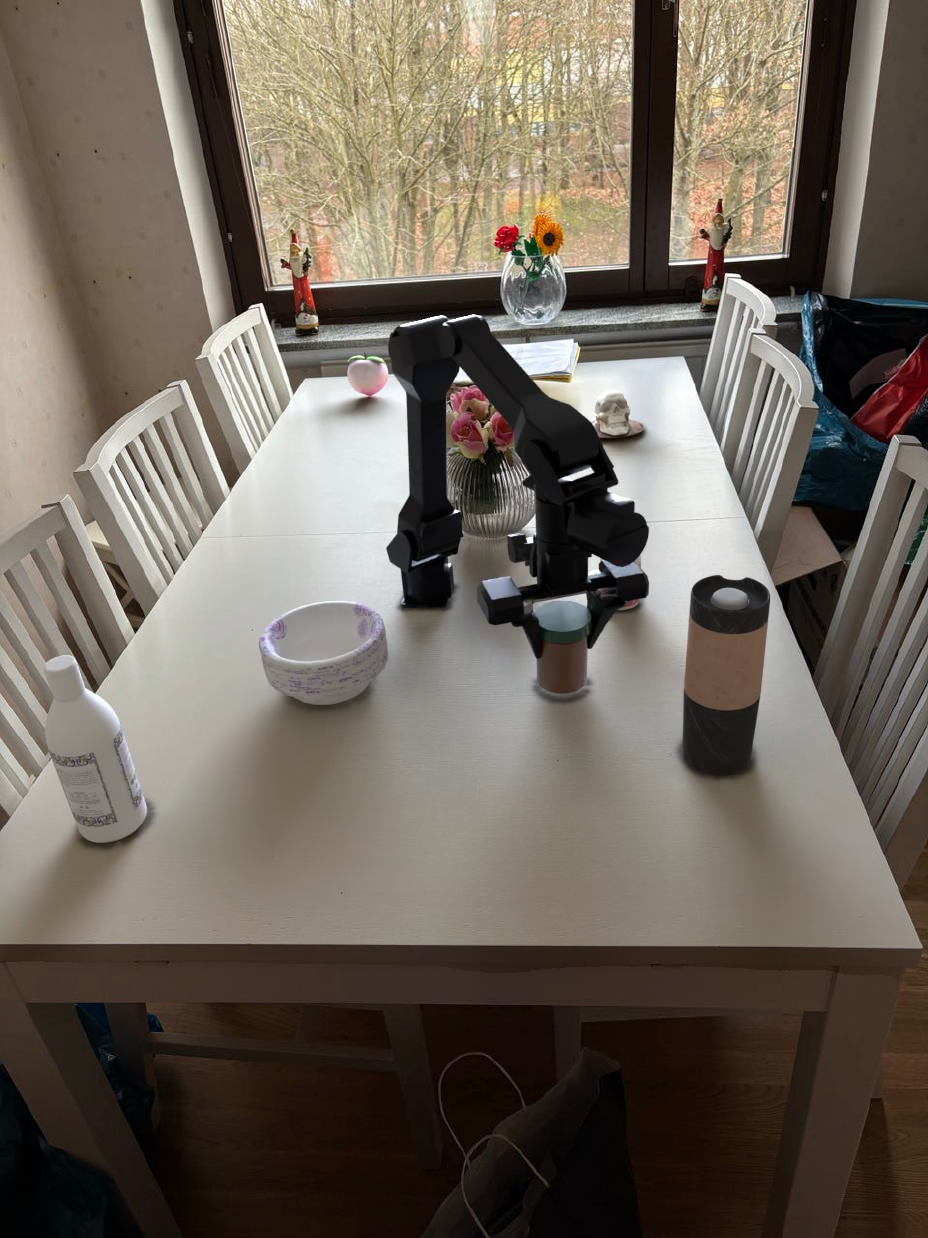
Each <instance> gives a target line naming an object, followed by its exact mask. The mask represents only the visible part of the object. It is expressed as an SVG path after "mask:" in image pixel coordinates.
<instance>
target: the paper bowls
mask: <svg viewBox="0 0 928 1238" xmlns="http://www.w3.org/2000/svg"><path fill="white" fill-rule="evenodd" d="M387 639H388V638H387V630H386V626H385V623H384V620H383V618H382V616H381V615H380V614H379V612H378V611H376V610H375V609H373V608H372V607H370V606H368V605H366V604H363V603H359V602H355V601H350V600H349V601H347V600H325V601H319V602H312V603H309V604H305V605H302V606H298V607H296V608H293V609H292V610H289V611H286V612H285V613H282V614H281V615H279V616H278V617H276V618H275V619H274V620H272V621H271V622H270V623H269V624H268V625H267V626H266V627H265V628H264V630H263V631H262V633H261V635H260V637H259V641H258V649H259V652H260V653H259V654H260V657H261V662H262V667H263V670H264V674H265V677H266V679H267V682H268V684H269V686H271V687H272V688H273V689H274V690H275V691H276V692H279V693H280V694H283V695H285V696H289V697H293V698H295V699H296V700H298V701H300V702H302V703H304V704H309V705H315V706H329V705H335V704H340V703H343V702H347V701H349V700H351V699H353V698H355V697H357V696H358V695H360V694H361V693H363V692H364V691H365V690H366V689H367V688H368V687H369V685H370V684H371V682H372V681H374V680H375V679H376V678H377V677H379V675H380V674H381V673H382V672H383V671H384V669H385V668H386V666H387V664H388V660H389V647H388V640H387Z"/></svg>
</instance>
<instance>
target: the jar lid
mask: <svg viewBox="0 0 928 1238" xmlns="http://www.w3.org/2000/svg"><path fill="white" fill-rule="evenodd" d="M533 611H534V613H535V614H536V616H537V618H538V619H539V629H540V638H541V639H543V640H545V641H548V642H552V643H559V644H566V643H573V642H577V641H580V640H582V639H584V638H585V637H587V636H588V634H589V633H590V631H591V629H592V621H591V619H592V616H591V612H590V611H589V609H588V608H587V606H586V605H584V604H581V603H579V602H576V601H572V600H565V599H563V600H562V599H561V600H551V601H548V602H545V603H543V604H540V605H539V606H538V607H536V609H534V610H533Z"/></svg>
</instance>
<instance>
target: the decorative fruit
mask: <svg viewBox="0 0 928 1238" xmlns="http://www.w3.org/2000/svg"><path fill="white" fill-rule="evenodd" d="M363 354H364V355H354V356H351V357H349V358H348V360H347V361H346V362H347V363H349V362H350V361H351V362H350V363H349V365H348V368H347V371H346V373H347V380H348V383H349V384H350V386H351V388H352V389H353V390H354V391H355V392H357V393H358V394H362V395H365V396H368V397H372V396H374V395H376V394H377V393H379V392H380V391H381V390H383V388H384V387H385V386H386V384H387V383H388V379H389V370H388V367H387V363H386V361H385V360H384V359H382V358H381V357H379V356H368V357H367V353H366V352H365V351H364V352H363Z"/></svg>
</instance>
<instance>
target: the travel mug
mask: <svg viewBox="0 0 928 1238" xmlns="http://www.w3.org/2000/svg"><path fill="white" fill-rule="evenodd" d="M770 607H771V593H770V590H769V588H768V587H767V586H766V585H765V584H764V583H762V582H760V581H758V580H756V579H754V578H752V577H747V576H745V577H744V578H742V579H729V578H726V577H724V576H723V575H721V574H713V575H710V576H709V575H708V576H706V577H703V578H701V579H699V580H697V581H696V582H695V583H694V584H693V585H692V587H691V590H690V598H689V611H688V612H689V613H688V627H687V640H686V650H685V652H686V653H685V667H684V678H683V702H682V706H683V708H682V755H683V758H684V760H685V762H687V764H688V765H689V766H691V767H692V768H694V769H695V770H697V771H699V772H701V773H704V774H707V775H712V776H729V775H734V774H737V773H739V772H741V771H743V770H745V769H746V768H747V766H748V765H749V764H750V761H751V757H752V751H753V745H754V741H755V740H754V738H755V734H756V726H757V720H758V714H759V707H760V702H761V701H760V700H761V694H762V686H763V676H764V675H763V674H764V665H765V655H766V646H767V637H768V636H767V635H768V625H769V616H770Z"/></svg>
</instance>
